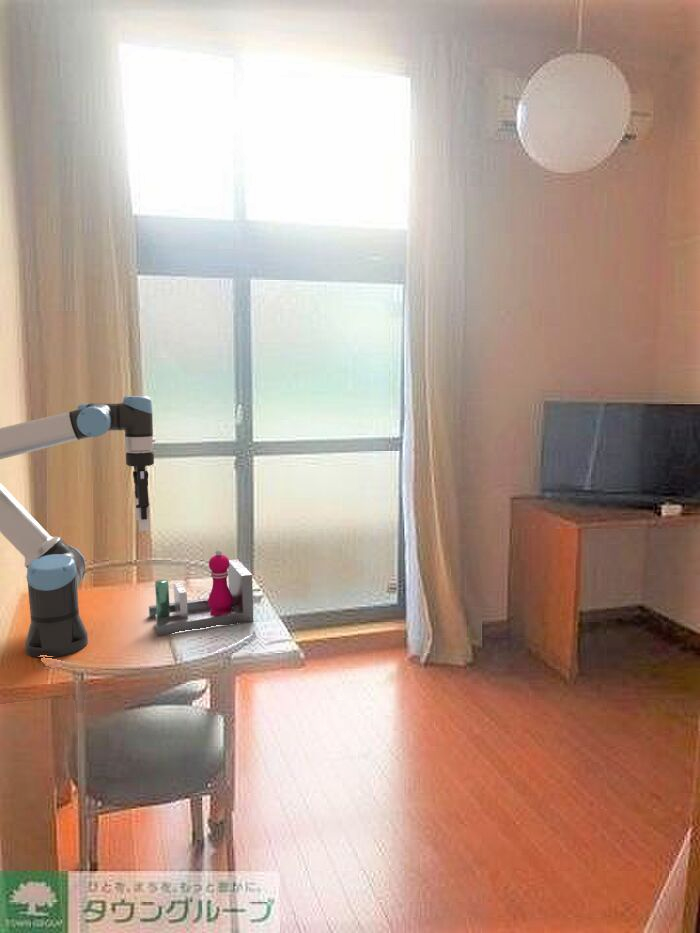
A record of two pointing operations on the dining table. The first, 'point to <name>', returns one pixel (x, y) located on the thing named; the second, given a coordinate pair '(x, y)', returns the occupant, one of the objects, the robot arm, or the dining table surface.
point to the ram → (163, 602)
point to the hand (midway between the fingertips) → (142, 525)
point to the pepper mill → (219, 585)
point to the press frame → (241, 605)
